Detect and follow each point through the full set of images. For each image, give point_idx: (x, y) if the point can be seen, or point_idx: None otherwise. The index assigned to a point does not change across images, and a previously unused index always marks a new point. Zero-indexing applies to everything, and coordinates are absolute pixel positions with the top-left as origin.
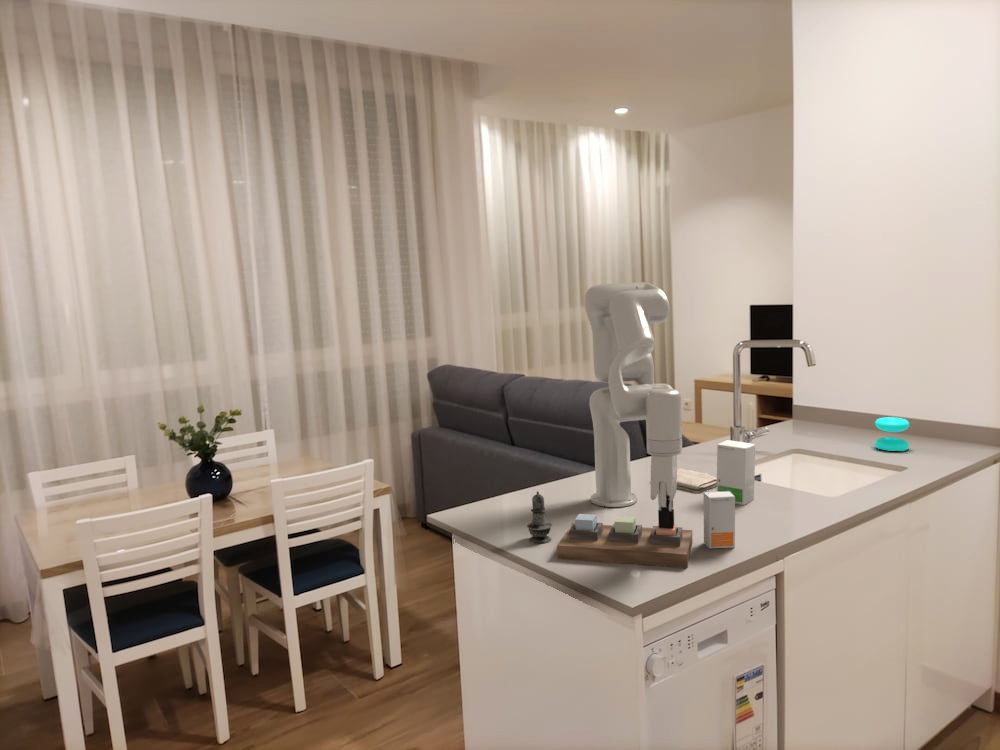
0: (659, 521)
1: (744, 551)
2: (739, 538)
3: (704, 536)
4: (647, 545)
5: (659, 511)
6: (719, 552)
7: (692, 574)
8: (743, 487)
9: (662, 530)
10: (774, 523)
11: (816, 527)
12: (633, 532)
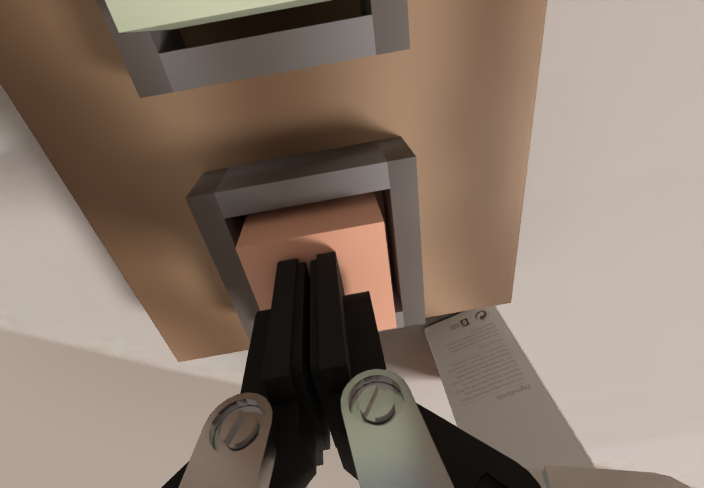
0: (275, 297)
1: (430, 403)
2: (548, 372)
3: (491, 326)
4: (177, 162)
5: (266, 379)
6: (401, 357)
7: (150, 341)
8: None
9: (252, 285)
10: (683, 409)
11: (635, 469)
12: (198, 24)
